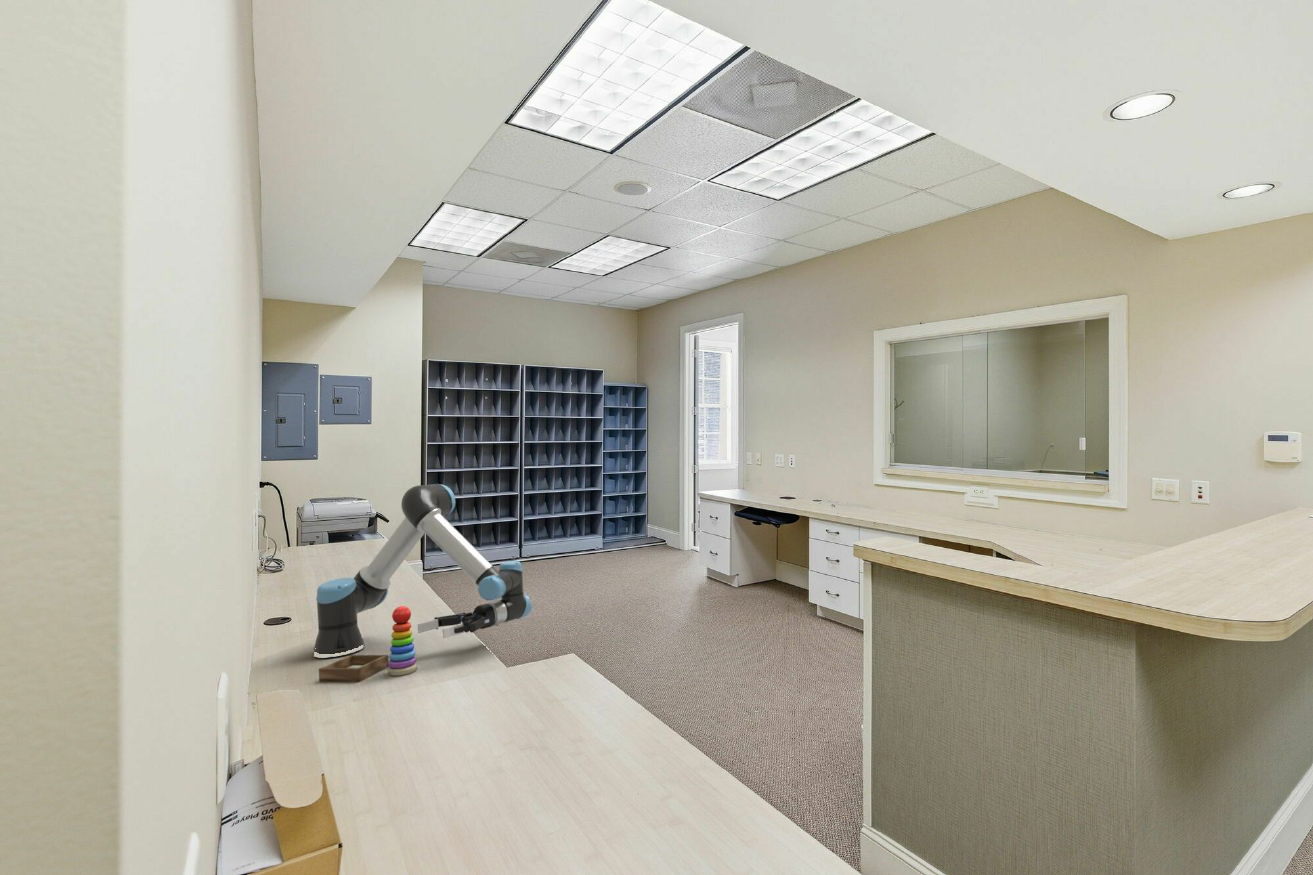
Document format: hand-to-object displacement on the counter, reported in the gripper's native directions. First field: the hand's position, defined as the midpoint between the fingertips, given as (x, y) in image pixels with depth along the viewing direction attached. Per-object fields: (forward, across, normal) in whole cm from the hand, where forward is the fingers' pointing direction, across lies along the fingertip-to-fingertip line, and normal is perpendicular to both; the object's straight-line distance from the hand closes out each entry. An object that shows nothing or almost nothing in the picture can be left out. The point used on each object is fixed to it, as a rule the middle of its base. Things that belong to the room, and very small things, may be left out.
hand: (430, 630), depth 187 cm
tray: (+17, +12, -10) cm, 23 cm away
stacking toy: (+9, 0, -10) cm, 13 cm away
